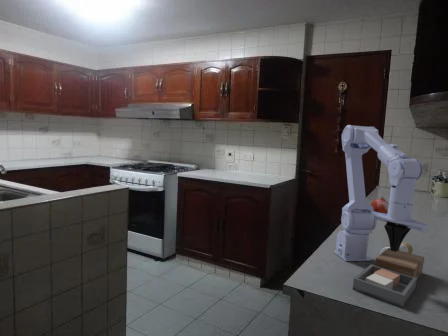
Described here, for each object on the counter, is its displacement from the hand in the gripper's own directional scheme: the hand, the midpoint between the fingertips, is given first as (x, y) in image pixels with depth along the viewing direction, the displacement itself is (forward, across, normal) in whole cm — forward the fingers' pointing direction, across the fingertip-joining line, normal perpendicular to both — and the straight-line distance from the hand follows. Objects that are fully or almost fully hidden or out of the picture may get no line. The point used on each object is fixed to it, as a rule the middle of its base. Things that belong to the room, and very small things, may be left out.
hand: (394, 250), depth 92 cm
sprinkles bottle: (+7, +8, -29) cm, 30 cm away
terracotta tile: (+9, 0, +2) cm, 9 cm away
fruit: (+10, +43, -82) cm, 93 cm away
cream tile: (+6, 0, +8) cm, 10 cm away
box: (+9, -1, +5) cm, 11 cm away
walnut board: (+9, +2, -9) cm, 13 cm away
